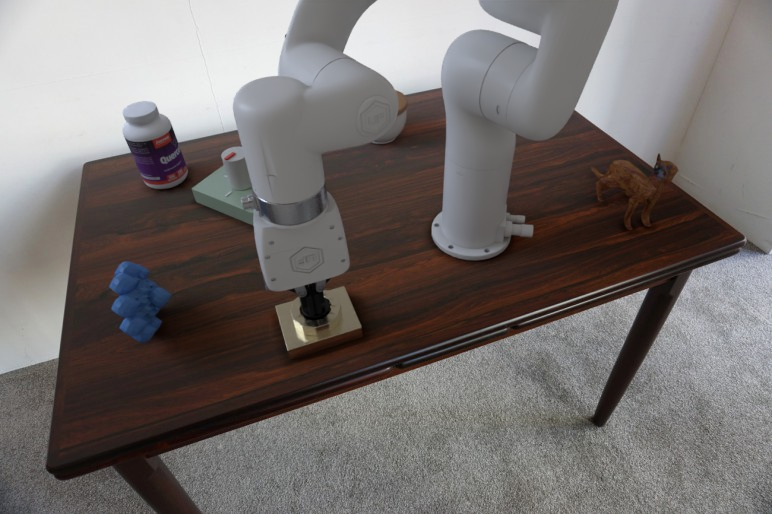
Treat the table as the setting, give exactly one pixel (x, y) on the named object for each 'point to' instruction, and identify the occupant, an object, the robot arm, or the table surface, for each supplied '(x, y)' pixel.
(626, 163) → the cat figurine
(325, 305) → the button
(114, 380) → the table surface
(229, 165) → the dial
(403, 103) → the trinket box
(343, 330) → the button box
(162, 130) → the pill bottle
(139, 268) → the blue lumpy lobed piece
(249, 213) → the dial panel
